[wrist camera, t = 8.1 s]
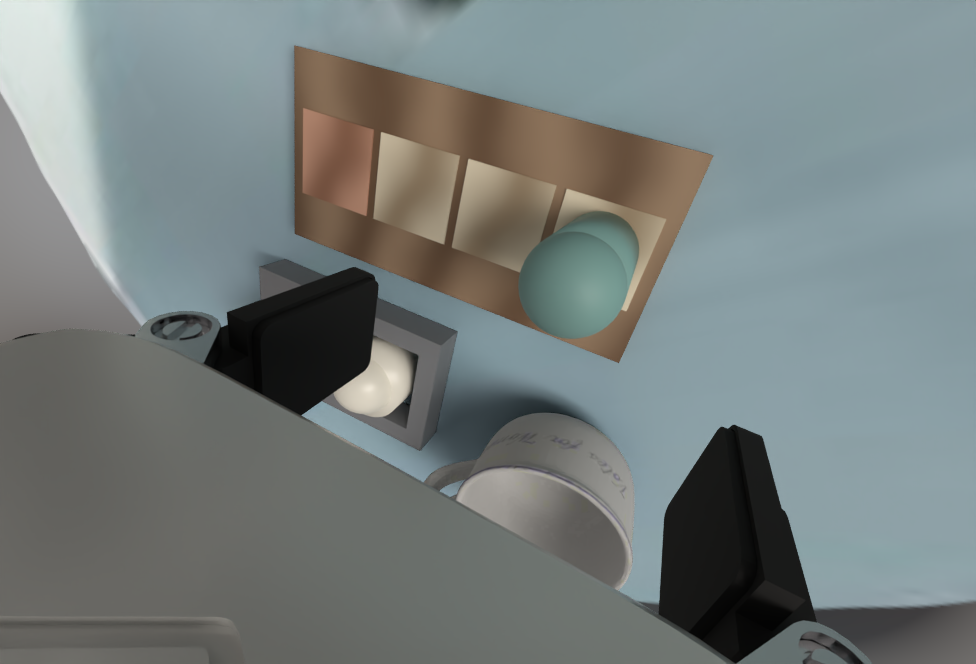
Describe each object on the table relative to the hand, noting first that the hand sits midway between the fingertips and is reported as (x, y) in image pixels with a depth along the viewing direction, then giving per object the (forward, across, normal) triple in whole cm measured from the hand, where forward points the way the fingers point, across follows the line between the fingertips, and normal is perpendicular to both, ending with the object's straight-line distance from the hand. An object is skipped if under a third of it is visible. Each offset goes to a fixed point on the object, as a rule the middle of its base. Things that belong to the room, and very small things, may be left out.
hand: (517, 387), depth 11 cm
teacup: (+16, -1, +16) cm, 23 cm away
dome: (+15, +13, +14) cm, 24 cm away
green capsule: (+15, +1, 0) cm, 15 cm away
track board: (+16, +10, 0) cm, 18 cm away
